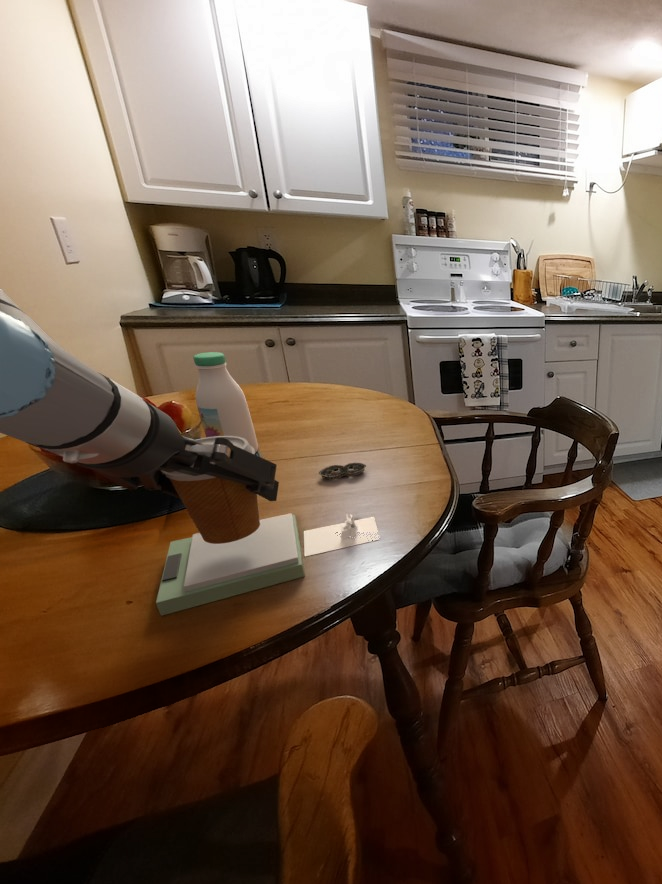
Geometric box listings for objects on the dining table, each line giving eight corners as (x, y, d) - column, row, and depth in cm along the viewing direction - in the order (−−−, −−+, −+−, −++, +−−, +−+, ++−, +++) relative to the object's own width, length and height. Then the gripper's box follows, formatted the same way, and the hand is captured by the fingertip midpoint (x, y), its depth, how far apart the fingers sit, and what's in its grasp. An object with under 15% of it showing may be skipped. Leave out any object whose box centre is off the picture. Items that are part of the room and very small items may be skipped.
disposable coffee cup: (201, 517, 68) (174, 438, 63) (280, 507, 71) (260, 431, 66) (174, 557, 60) (141, 470, 55) (265, 544, 63) (241, 460, 58)
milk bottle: (256, 442, 103) (231, 347, 95) (262, 455, 98) (236, 356, 89) (210, 450, 98) (180, 352, 90) (214, 464, 93) (182, 361, 85)
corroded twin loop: (367, 476, 92) (366, 471, 91) (319, 483, 89) (318, 478, 88) (366, 465, 96) (365, 460, 95) (319, 471, 93) (318, 466, 92)
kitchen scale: (174, 553, 69) (168, 536, 68) (297, 525, 77) (293, 510, 75) (161, 616, 58) (153, 597, 57) (304, 576, 66) (300, 559, 65)
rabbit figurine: (359, 537, 75) (356, 519, 73) (341, 541, 74) (337, 523, 72) (357, 527, 77) (354, 509, 76) (339, 530, 76) (336, 513, 75)
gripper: (-44, 470, 43) (140, 524, 64) (229, 463, 46) (318, 516, 67) (-15, 393, 45) (153, 469, 66) (242, 392, 49) (324, 464, 70)
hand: (236, 493), depth 67 cm, fingers closed on disposable coffee cup, 9 cm apart
